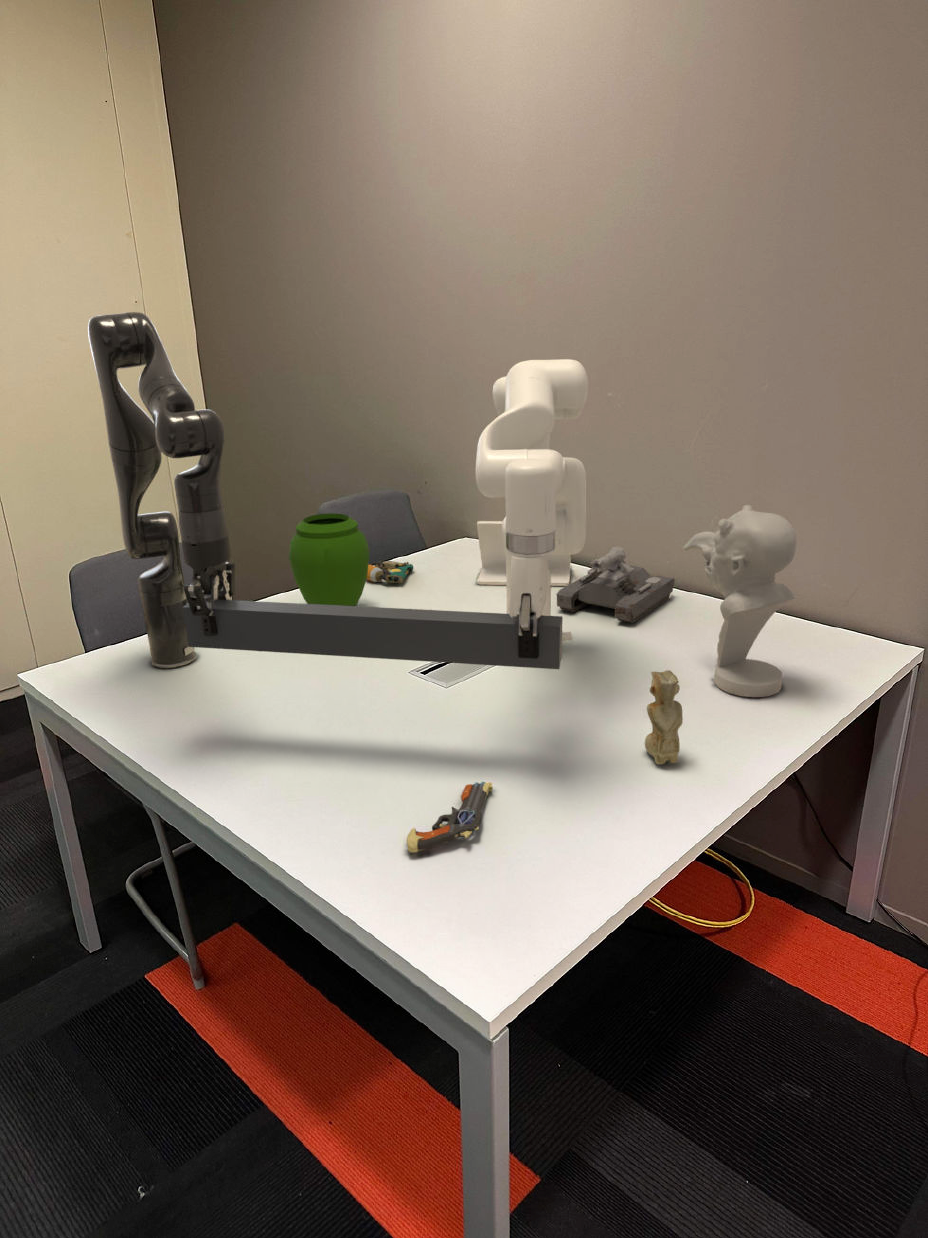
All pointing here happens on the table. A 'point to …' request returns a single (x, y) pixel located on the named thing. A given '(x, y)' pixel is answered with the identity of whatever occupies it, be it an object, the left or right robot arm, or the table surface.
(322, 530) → the vase
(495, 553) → the tablet stand
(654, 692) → the sculpture
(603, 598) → the toy
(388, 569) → the spray gun
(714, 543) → the bust sculpture
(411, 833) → the toy gun
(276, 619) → the beam
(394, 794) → the table surface
